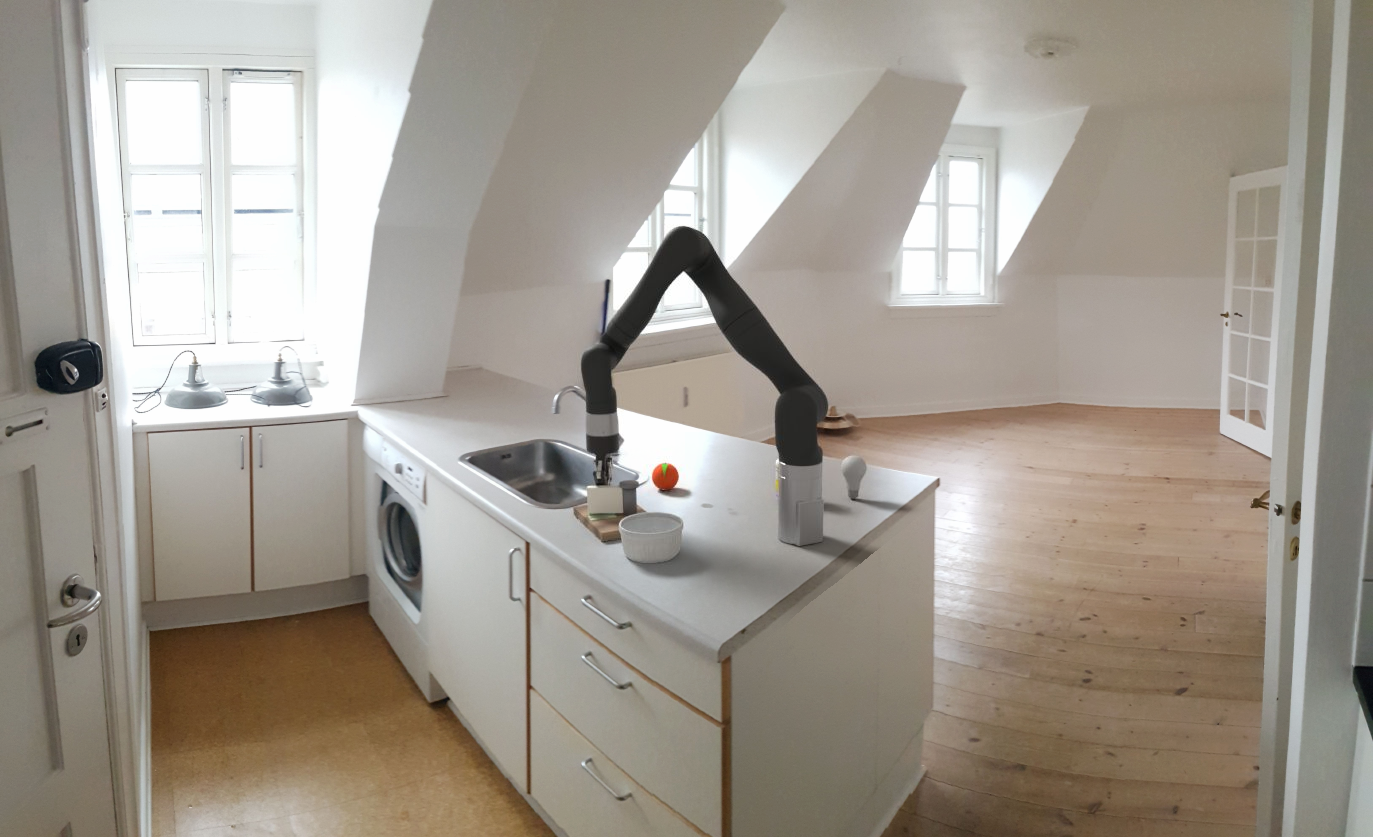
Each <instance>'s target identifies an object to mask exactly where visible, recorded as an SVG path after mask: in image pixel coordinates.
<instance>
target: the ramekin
mask: <svg viewBox="0 0 1373 837" xmlns="http://www.w3.org/2000/svg"><path fill="white" fill-rule="evenodd" d="M683 530H684V521H683V519H682V518H681V517H680V516H677V515H676V514H672V513H669V512H662V511H661V512H660V511H646V512H645V513H638V514H634V515H630V516H628V517H625V518H624V519H622V520H621V521H620V523H619V532H620V533H621V539H620V541H621V546H622V550H623V552H624V555H625V556H626V557H627V558H628V559H629V560H631V561H633V560H634V561H633V562H636V561H637V562H636V563H641V564H657V563H658V562H660V563H664V561H665V562H668V561H670V560H672V559H674V558H675V557H677V555H678V554H679V552H680V549H681V546H682V545H681V544H682V538H683V536H682V535H683Z"/></svg>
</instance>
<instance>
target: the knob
mask: <svg viewBox="0 0 1373 837" xmlns="http://www.w3.org/2000/svg"><path fill="white" fill-rule="evenodd" d="M639 487H640V482H639V481H638V480H633V479H629V480H627V479H626V480H623V481H622V480H621V481H620V482H619V484H617V485H615V484H614V485H613V484H612V485H608V486H596V485H587V486H586V500H587V503H586V505H588V513H623V514H625V515H634V514H636V513H637V505H638V503H637V501H638V500H637V489H638V488H639Z"/></svg>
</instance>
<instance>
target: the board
mask: <svg viewBox="0 0 1373 837" xmlns="http://www.w3.org/2000/svg"><path fill="white" fill-rule="evenodd" d="M645 512H647V510H645V509H643V508H642V507H641V506H640V505H638V504H637V513H636V514H638V513H645ZM574 515H575V516H576V517H577V518H578V519H579V520H580V521H579V520H578V521H579V522H580V523H581V524H583V526H584V527H586V528H587V529H588V530H589V531H590V532H591V533H592V532H593V533H594V534H595V535H596V536H597V537H598V538H599V539H600V540H601V541H602V542H601V541H600V540H599V539H598V538H597V537H596V536H595V535H594V534H593V533H592V534H593V535H594V536H595V537H596V538H597V539H598V540H599V541H600V542H601V543H604V541H605V542H609V541H608V540H611V541H616V539H617V540H621V533H620V532H619V523H620V521H621V520H622V519H624V518H625V517H628V516H630V515H625V514H623V513H588V504H584V505H577V506H573V516H574ZM575 516H574V517H575ZM576 517H575V518H576ZM577 518H576V519H577Z"/></svg>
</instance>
